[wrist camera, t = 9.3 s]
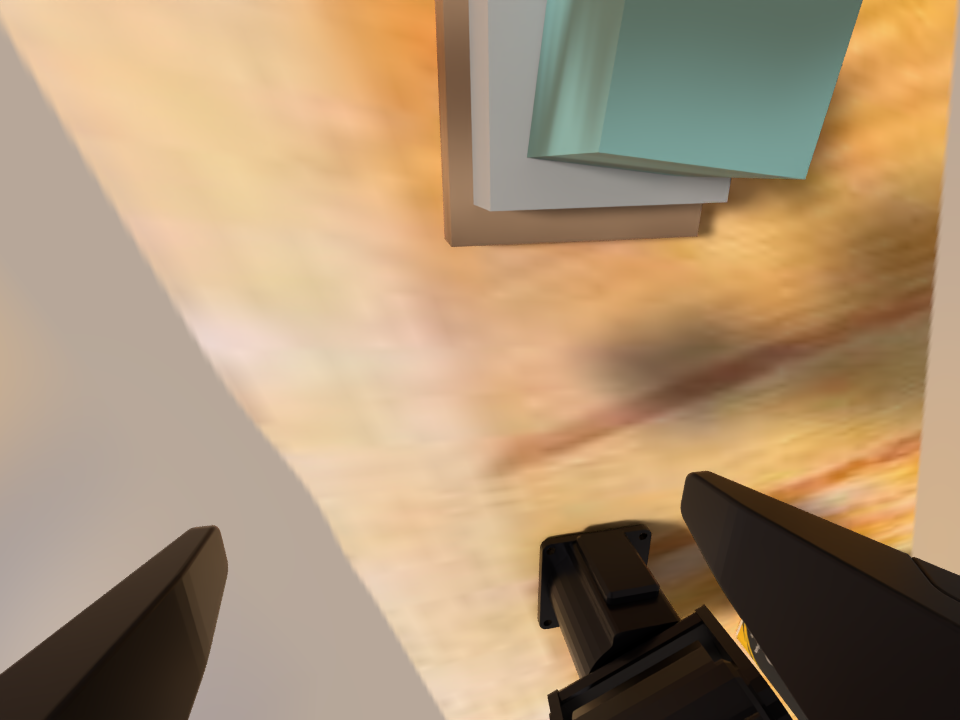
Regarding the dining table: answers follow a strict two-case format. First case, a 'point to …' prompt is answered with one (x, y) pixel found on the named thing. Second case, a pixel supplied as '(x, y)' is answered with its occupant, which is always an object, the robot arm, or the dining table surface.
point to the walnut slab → (520, 226)
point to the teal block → (688, 84)
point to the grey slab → (507, 122)
